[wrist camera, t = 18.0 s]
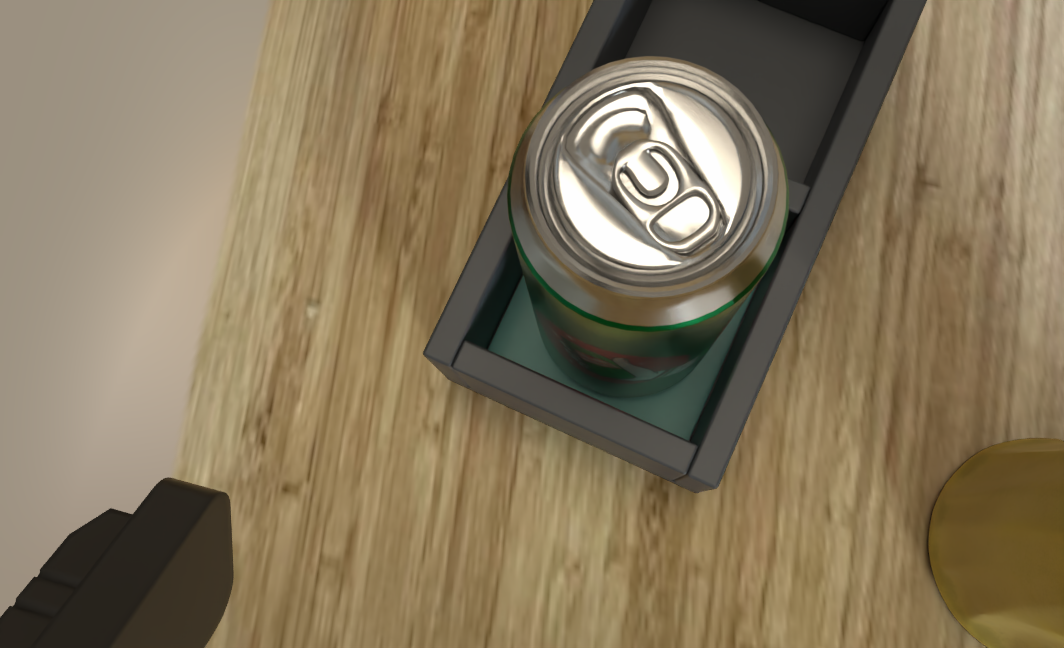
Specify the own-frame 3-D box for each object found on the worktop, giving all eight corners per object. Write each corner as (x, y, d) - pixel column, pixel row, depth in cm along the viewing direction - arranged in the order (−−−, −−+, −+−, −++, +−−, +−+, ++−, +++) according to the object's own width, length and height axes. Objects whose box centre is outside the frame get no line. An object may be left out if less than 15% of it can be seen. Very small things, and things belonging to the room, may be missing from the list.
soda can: (643, 192, 30) (678, -21, 18) (751, 330, 29) (864, 202, 17) (502, 293, 29) (443, 145, 17) (607, 436, 28) (620, 381, 17)
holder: (446, 379, 30) (420, 354, 25) (653, -54, 32) (664, -148, 27) (697, 494, 29) (717, 490, 24) (893, 39, 31) (945, -42, 26)
